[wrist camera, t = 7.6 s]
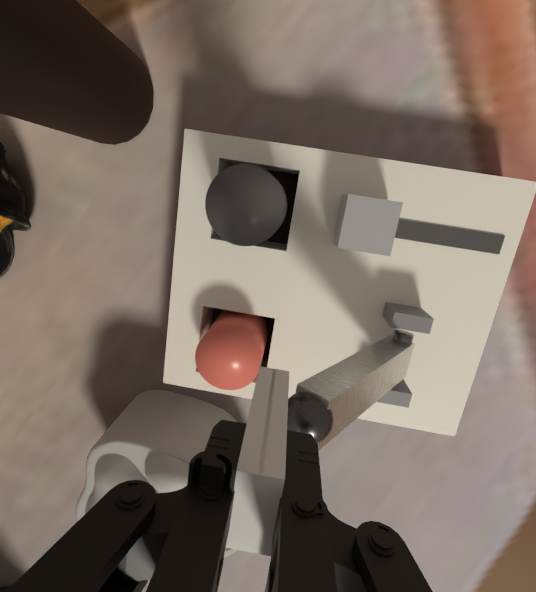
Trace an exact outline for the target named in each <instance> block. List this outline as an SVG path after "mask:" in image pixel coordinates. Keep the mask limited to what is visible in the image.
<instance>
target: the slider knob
mask: <svg viewBox="0 0 536 592" xmlns="http://www.w3.org/2000/svg"><path fill="white" fill-rule="evenodd" d="M402 205H403V202H397V201H391V200H384V199H378V198H372V197H365V196H359V195H352V194H345V195H342V199H341V204H340V209H339V214H338V220H337V225H336V230H335V235H334V240H333V243H334V244H335V245H336V247H337V248H342V249H348V250H354V251H360V252H366V253H372V254H378V255H384V256H390V255H391V251H392V246H393V242H394V238H395V234H396V230H397V226H398V222H399V218H400V213H401V209H402Z"/></svg>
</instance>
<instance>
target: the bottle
mask: <svg viewBox="0 0 536 592" xmlns="http://www.w3.org/2000/svg"><path fill="white" fill-rule="evenodd" d="M152 109H153V88H152V84H151V80H150V76H149V74H148V72H147V70H146V68H145V66H144V65H143V63H142V61H141V60H140V59H139V58H138V57H137V56H136V55H135V54H134V53H133V52H132V51H131V50H130V49H129V48H128V47H127V46H126V45H125V44H123V43H122V42H121V41H120V40H119V39H118V38H117V37H116V36H115V35H113V34H112V33H111V32H110V31H109V30H108V29H107V28H106V27H105V26H103V25H102V24H101V23H100V22H99V21H98V20H97V19H96V18H95V17H93V16H92V15H91V14H90V13H89V12H88V11H87V10H86V9H85V8H83V7H82V6H81V5H80V4H79V3H78V2H77V1H76V0H0V113H2V114H5V115H9V116H12V117H15V118H19V119H22V120H25V121H29V122H32V123H35V124H39V125H42V126H45V127H49V128H52V129H55V130H59V131H62V132H65V133H69V134H72V135H76V136H79V137H82V138H86V139H89V140H92V141H96V142H99V143H105V144H119V143H123V142H127V141H129V140H131V139H132V138H134V137H135V136H137V135H138V134H140V132H141V131H142V130H143V128H144V127H145V126H146V124H147V123H148V121H149V118H150V115H151V112H152Z"/></svg>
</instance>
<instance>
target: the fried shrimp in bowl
mask: <svg viewBox="0 0 536 592" xmlns="http://www.w3.org/2000/svg"><path fill="white" fill-rule="evenodd" d="M5 153H6V150H5V149H4V146H3V145H2V143H1V142H0V278H1V277H2V276H3V275H4V274H5V273H6V272H7V271H8V269H9V267H10V265H11V263H12V260H13V257H14V247H13V239H12V235H11V230H20V231H27V230H30V228H31V224H30V222H29V220H28V219H27V217H26V216H25V206H26V203H25V197H24V194H23V191H22V189H21V187H20V185H19V183H18V181H17V179H16V177H15V175H14V174H13V172H12V170H11V169H10V167H9V166H8V164H7V162H6V160H5Z"/></svg>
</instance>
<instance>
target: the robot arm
mask: <svg viewBox="0 0 536 592" xmlns="http://www.w3.org/2000/svg"><path fill="white" fill-rule="evenodd" d="M288 392H289V371H285V370H279V369H273V368H267V367H261V366H260V367H259V371H258V376H257V380H256V384H255V389H254V393H253V398H252V402H251V407H250V411H249V416H248V420H247V424H245V423H239V422H233V421H227V420H221V421H219V422H218V423H217V424H216V425H215V426H214V427H213V429H212V432H211V434H210V438H209V440H208V442H207V446H206V448H205V451H203V452H200V453H198V454H197V455H195V456H194V457H193V458H192V459H191V461H190V463H189V473H188V482H187V486H185V487H184V488H182V489H180V490H177V491H173V492H166V493H156V491H155V489H154V487H153V486H152V485H150V484H149V483H147V482H145V481H141V480H129V481H125V482H122V483H120V484H118V485H116V486H115V487H113V488H112V489H111V490H109V491H108V492H107V493H106V494H105V495H104V496H103V497H102V498H101V499H100V500H99V501H98V502H97V503H96V504H95V505H94V506H93V507H92V508H91V509H90V510H89V511H88V512H87V513H86V514H85V515H84V516H83V517H82V518H81V519H80V520H79V521H78V522H77V523H76V524H75V525H74V526H73V527H72V528H71V529H70V530H69V531H68V532H67V533H66V534H65V535H64V536H63V537H61V538H60V539H59V540H58V541H57V542H56V543H55V544H54V545H53V546H52V547H51V548H50V549H49V550H48V551H47V552H46V553H45V554H44V555H43V556H42V557H41V558H40V559H39V560H38V561H37V562H36V563H35V564H34V565H33V566H32V567H31V568H30V569H29V570H28V571H27V572H26V573H25V574H24V575H23V576H22V577H21V578H20V579H19V580H18V581H17V582H16V583H15V584H14V585H13V586H11V587H10V588H9V589H7V588H1V589H0V592H141V591H142V590H143V588H144V587H145V585H146V583H147V581H148V579H151V580H150V583H149V585H148V588H147V591H146V592H217V591H218V586H219V581H220V576H221V571H222V566H223V560H224V553H225V548H230V549H236V550H241V551H246V552H252V553H257V554H262V555H268V556H271V562H270V567H269V573H268V578H267V583H266V588H265V592H432V590H431V588H430V586H429V585H428V583H427V581H426V579H425V578H424V576H423V574H422V572H421V571H420V569H419V567H418V565H417V563H416V562H415V560H414V558H413V556H412V555H411V553H410V551H409V549H408V547H407V546H406V544H405V542H404V541H403V540H402V538H401V537H400V536H399V534H398V533H397V532H395V531H394V530H393V529H391V528H390V527H389V526H387V525H384V524H382V523H380V522H373V521H369V522H365V523H362V524H361V525H360V526H359V527H358V528H357V529H356V528H354V527H352V526H350V525H347V524H345V523H343V522H342V521H340V520H338V519H337V518H336V517H334V516H333V515H332V514H331V513H330V512H329V511H328V509H327V506H326V503H325V502H324V501H323V498H322V487H321V476H320V465H319V456H318V455H319V453H318V444H317V442H316V441H315V439H314V438H313V436H312V434H308V433H302V432H296V431H291V430H287V418H288Z"/></svg>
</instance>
